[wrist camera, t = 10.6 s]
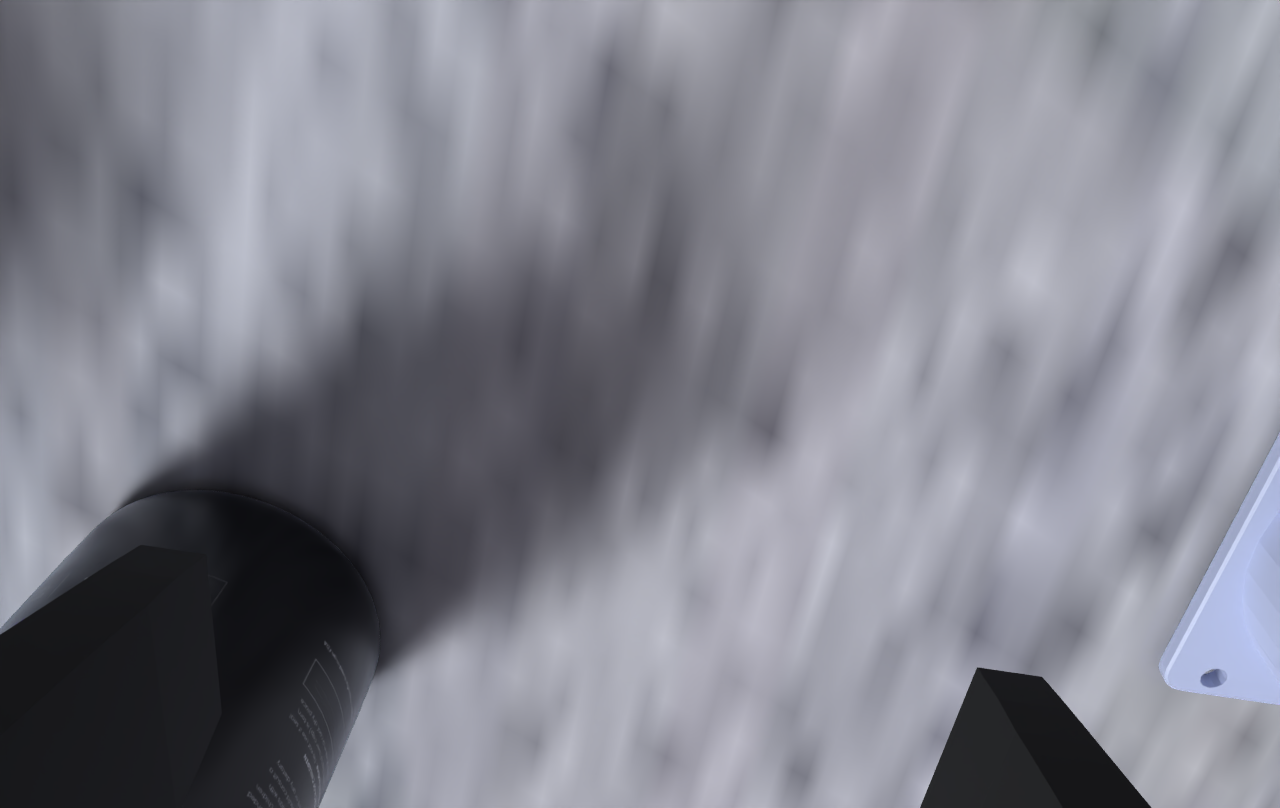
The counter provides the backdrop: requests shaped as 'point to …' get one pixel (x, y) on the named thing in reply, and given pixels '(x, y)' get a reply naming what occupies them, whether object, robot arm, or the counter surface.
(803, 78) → the counter surface
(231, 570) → the supplement bottle
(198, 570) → the robot arm
